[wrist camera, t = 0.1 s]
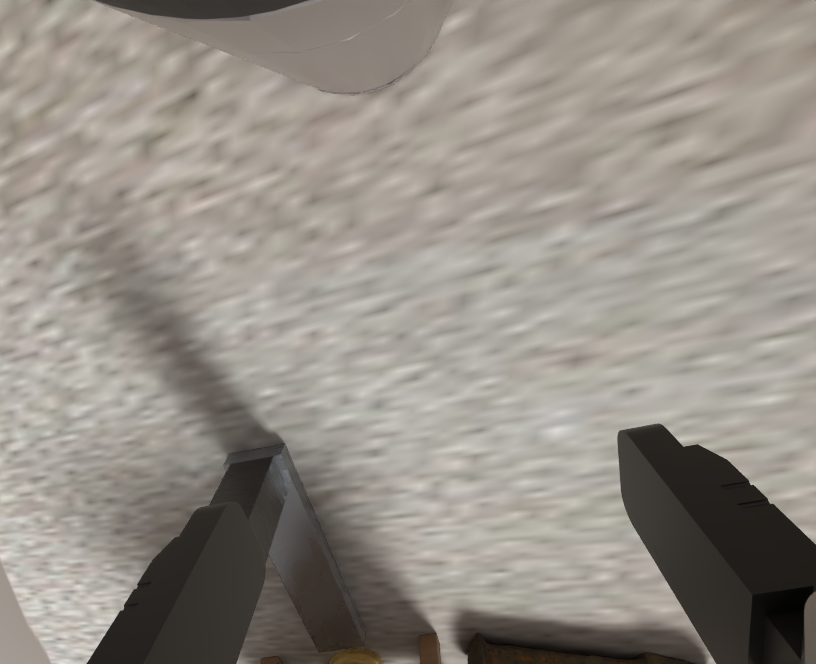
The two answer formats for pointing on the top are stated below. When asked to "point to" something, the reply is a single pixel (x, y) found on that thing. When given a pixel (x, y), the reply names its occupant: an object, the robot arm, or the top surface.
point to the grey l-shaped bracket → (292, 542)
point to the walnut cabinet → (428, 651)
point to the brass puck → (356, 657)
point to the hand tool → (548, 656)
